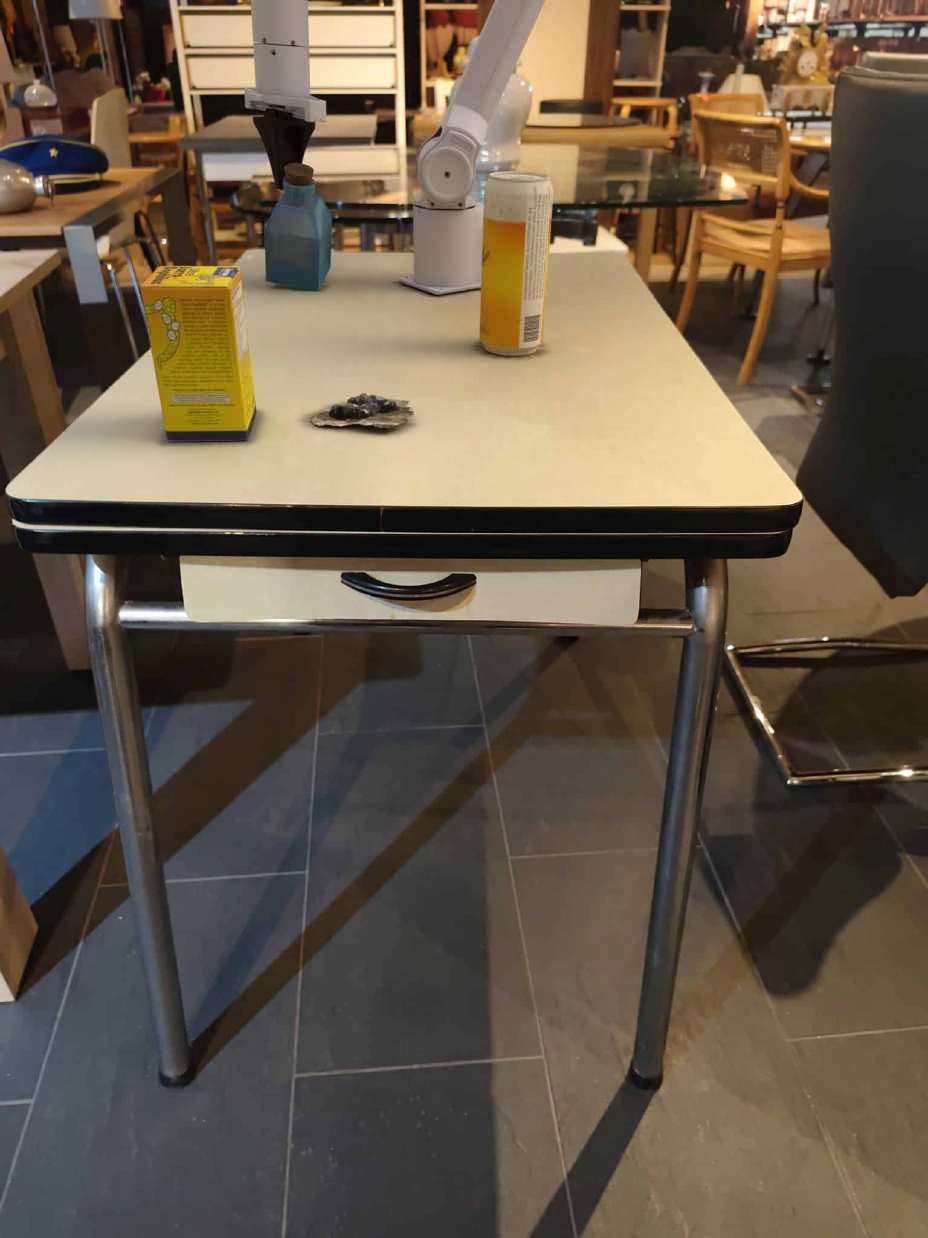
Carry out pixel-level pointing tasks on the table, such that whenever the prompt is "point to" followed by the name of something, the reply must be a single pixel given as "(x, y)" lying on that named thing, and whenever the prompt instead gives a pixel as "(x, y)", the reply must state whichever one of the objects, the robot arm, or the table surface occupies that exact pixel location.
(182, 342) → the supplement box
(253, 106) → the robot arm
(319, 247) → the perfume bottle
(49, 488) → the table surface
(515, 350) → the beer can
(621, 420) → the table surface
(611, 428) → the table surface
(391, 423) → the grey flat lumpy piece
